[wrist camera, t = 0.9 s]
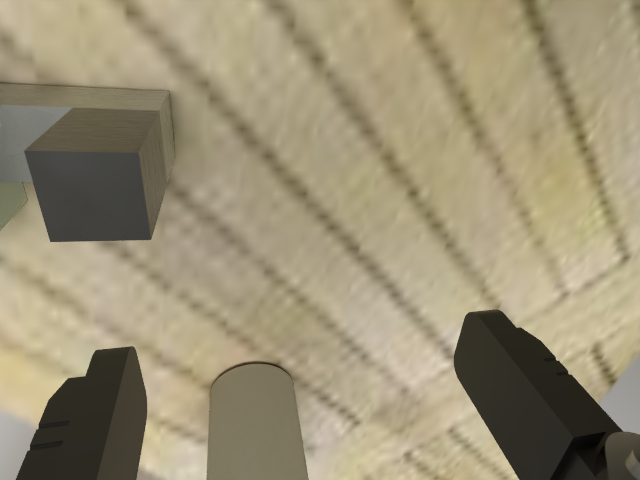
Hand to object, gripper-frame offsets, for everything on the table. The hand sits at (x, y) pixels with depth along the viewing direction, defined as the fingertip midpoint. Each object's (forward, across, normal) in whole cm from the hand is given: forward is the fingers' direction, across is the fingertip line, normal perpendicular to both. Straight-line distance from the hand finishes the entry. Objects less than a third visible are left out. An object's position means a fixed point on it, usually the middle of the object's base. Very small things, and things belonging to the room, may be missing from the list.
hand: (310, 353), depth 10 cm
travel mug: (+21, +1, +26) cm, 34 cm away
